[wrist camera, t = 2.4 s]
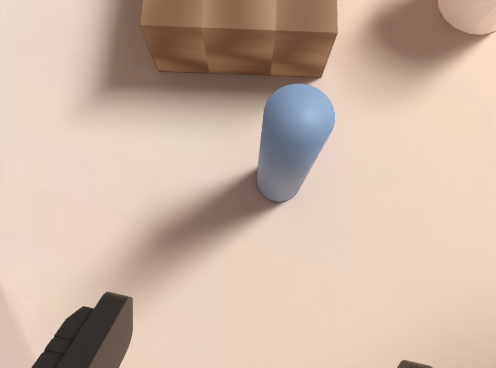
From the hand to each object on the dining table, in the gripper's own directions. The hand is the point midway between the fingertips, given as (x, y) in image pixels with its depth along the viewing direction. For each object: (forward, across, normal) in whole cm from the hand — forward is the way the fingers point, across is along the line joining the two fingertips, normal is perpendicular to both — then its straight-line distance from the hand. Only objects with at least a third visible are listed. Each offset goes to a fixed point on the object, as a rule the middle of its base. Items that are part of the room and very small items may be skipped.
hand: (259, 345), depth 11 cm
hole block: (+24, +5, -7) cm, 26 cm away
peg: (+15, 0, +3) cm, 15 cm away
